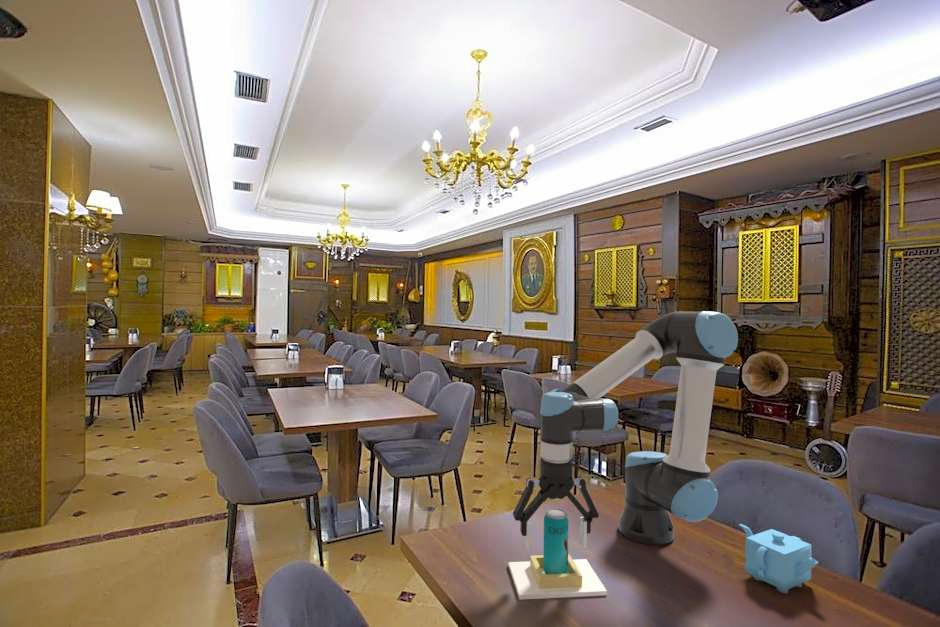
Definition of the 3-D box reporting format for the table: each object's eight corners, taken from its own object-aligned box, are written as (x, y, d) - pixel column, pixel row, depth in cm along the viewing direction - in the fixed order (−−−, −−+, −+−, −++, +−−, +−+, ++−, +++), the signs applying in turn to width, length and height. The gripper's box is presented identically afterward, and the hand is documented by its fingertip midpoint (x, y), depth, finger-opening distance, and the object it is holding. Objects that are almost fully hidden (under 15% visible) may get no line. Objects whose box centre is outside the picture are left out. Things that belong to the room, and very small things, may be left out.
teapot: (796, 609, 104) (797, 557, 104) (719, 569, 120) (720, 524, 120) (835, 590, 111) (836, 541, 111) (758, 555, 127) (759, 512, 127)
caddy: (586, 562, 122) (586, 549, 122) (606, 595, 108) (607, 579, 108) (508, 566, 120) (508, 552, 120) (519, 599, 107) (519, 583, 107)
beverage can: (567, 584, 111) (568, 519, 111) (542, 581, 112) (543, 516, 112) (567, 570, 117) (568, 509, 117) (543, 568, 118) (544, 507, 118)
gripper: (601, 452, 119) (600, 538, 119) (501, 454, 117) (501, 541, 117) (613, 462, 112) (612, 553, 112) (507, 464, 109) (506, 557, 110)
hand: (555, 547), depth 114 cm, fingers open, 13 cm apart
